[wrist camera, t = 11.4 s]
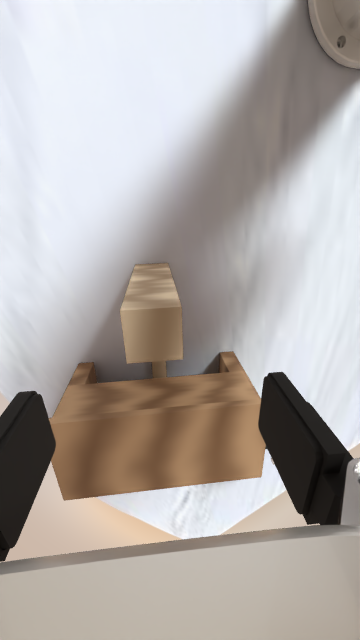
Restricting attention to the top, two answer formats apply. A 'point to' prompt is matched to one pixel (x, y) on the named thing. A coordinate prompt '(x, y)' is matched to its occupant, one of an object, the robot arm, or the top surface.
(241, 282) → the top surface
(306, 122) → the top surface
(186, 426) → the cabinet
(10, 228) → the top surface
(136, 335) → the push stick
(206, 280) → the top surface
